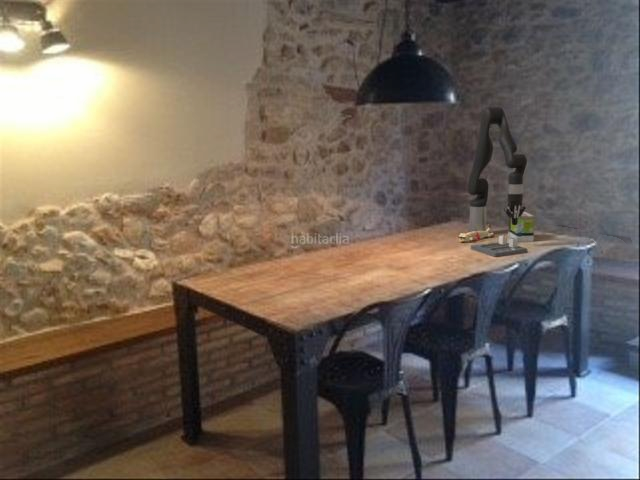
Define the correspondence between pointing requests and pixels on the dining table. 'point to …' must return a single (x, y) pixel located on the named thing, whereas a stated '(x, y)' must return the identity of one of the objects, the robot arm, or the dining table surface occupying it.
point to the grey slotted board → (498, 249)
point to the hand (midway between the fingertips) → (514, 224)
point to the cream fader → (502, 239)
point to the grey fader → (513, 242)
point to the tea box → (522, 228)
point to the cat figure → (475, 235)
